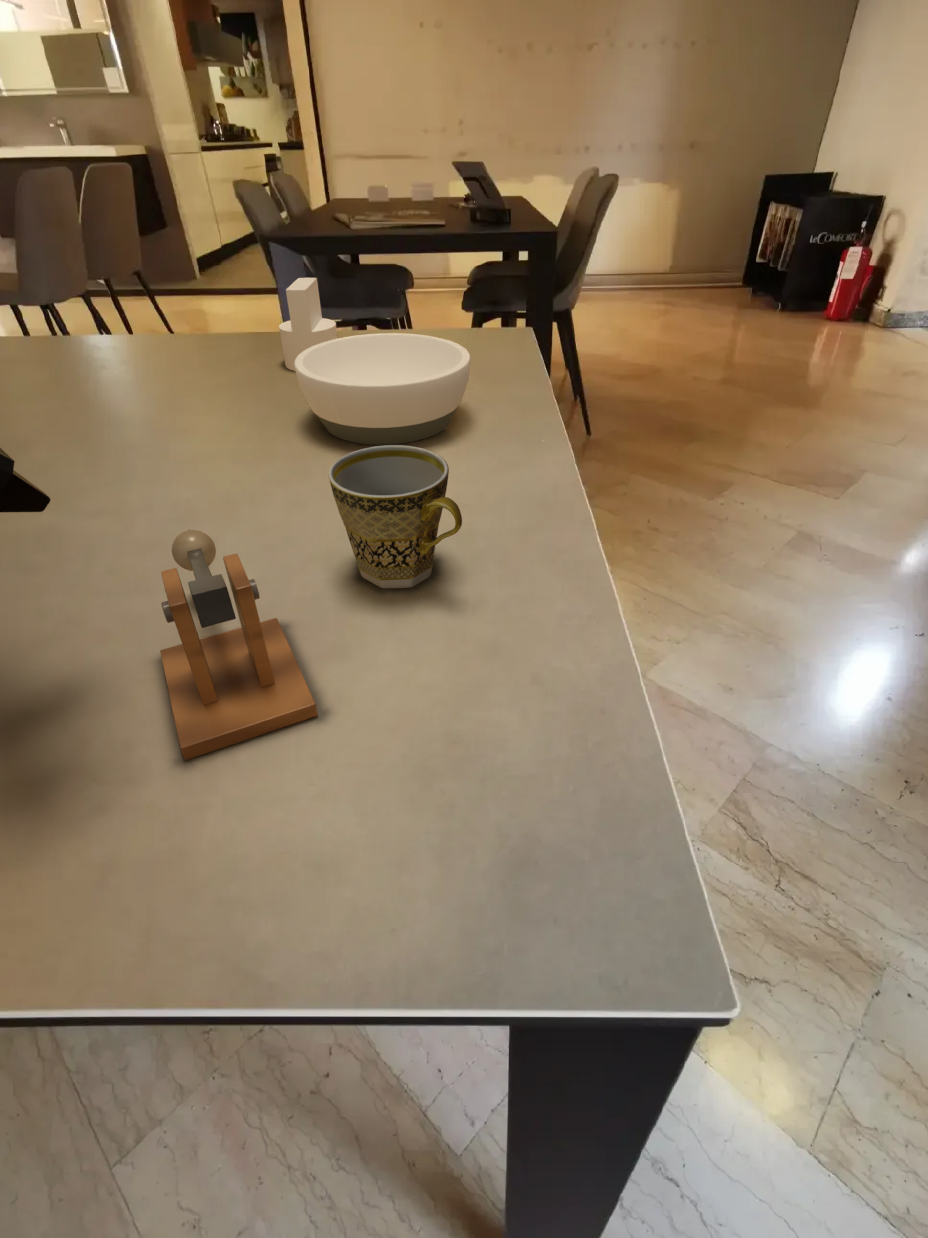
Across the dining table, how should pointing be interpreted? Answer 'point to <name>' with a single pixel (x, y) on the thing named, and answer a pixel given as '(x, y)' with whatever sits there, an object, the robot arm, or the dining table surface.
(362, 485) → the ceramic cup
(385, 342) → the bowl
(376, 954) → the dining table surface
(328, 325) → the cylinder with rectangular tab
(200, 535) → the lever
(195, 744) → the bracket
